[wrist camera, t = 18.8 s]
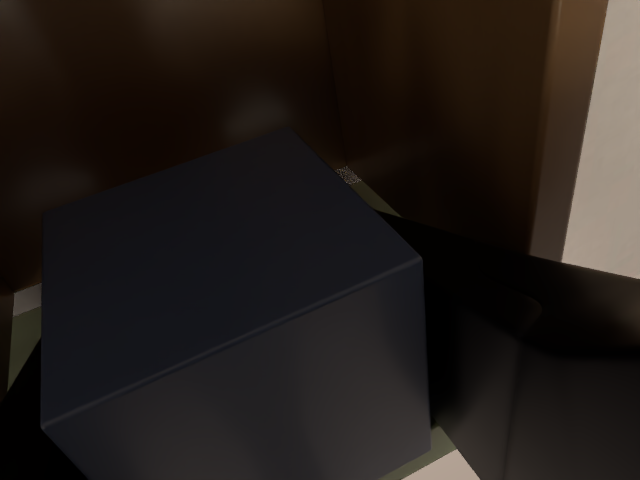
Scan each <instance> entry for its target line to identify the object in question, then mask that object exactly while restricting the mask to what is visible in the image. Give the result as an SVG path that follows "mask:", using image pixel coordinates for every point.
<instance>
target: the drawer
mask: <svg viewBox="0 0 640 480" xmlns="http://www.w3.org/2000/svg"><path fill="white" fill-rule="evenodd" d="M607 5H608V0H0V404H1V402H2V401H3V399H4V397H5V396H6V394H7V392H8V391H9V389H10V387H11V386H12V384H13V382H14V381H15V379H16V377H17V376H18V374H19V372H20V371H21V369H22V367H23V366H24V364H25V362H26V361H27V359H28V357H29V356H30V354H31V352H32V351H33V349H34V347H35V346H36V344H37V342H38V341H39V339H40V338H41V307H38V308H36V309H33V310H30V311H28V312H25V313H23V314H20V315H18V316H15V317H13V307H14V293H16V292H18V291H21V290H24V289H26V288H29V287H31V286H34V285H37V284H39V283H42V214H43V213H44V212H46V211H48V210H51V209H54V208H57V207H60V206H63V205H65V204H68V203H71V202H74V201H77V200H80V199H83V198H85V197H88V196H91V195H94V194H97V193H100V192H102V191H105V190H108V189H111V188H114V187H117V186H120V185H122V184H125V183H128V182H131V181H134V180H137V179H139V178H142V177H145V176H148V175H151V174H154V173H156V172H159V171H162V170H165V169H168V168H171V167H174V166H176V165H179V164H182V163H185V162H188V161H191V160H193V159H196V158H199V157H202V156H205V155H208V154H211V153H213V152H216V151H219V150H222V149H225V148H228V147H230V146H233V145H236V144H239V143H242V142H245V141H247V140H250V139H253V138H256V137H259V136H262V135H265V134H267V133H270V132H273V131H276V130H279V129H282V128H284V127H290V128H291V129H293V130H294V131H295V132H296V133H297V134H298V135H299V136H300V137H301V138H302V139H303V140H304V141H305V142H306V143H307V144H308V145H309V146H310V147H311V148H312V149H313V150H314V151H315V152H316V153H317V154H318V155H319V156H320V157H321V158H322V159H323V160H324V161H325V162H326V163H327V164H328V165H329V166H330V167H331V168H332V169H333V170H334V171H335V170H338V169H340V168H343V167H346V166H348V168H349V169H350V170H351V171H352V172H354V173H355V174H356V175H357V176H358V177H359V178H360V179H361V180H362V181H359V182H357V183H354V184H352V185H349V186H350V187H351V188H352V189H353V190H354V191H355V192H356V193H357V194H358V195H359V196H360V197H361V198H362V199H363V200H364V201H365V202H366V203H367V204H368V205H370V206H371V207H372V208H373V209H375V210H378V211H382V212H385V213H388V214H392V215H395V216H398V217H402V218H405V219H408V220H412V221H415V222H418V223H422V224H425V225H428V226H432V227H435V228H438V229H441V230H445V231H448V232H451V233H455V234H458V235H461V236H465V237H468V238H471V239H474V240H475V242H477V241H482V242H485V243H488V244H492V245H495V246H498V247H502V248H506V249H509V250H513V251H516V252H520V253H524V254H527V255H532V256H536V257H540V258H544V259H549V260H553V261H557V262H561V261H562V256H563V250H564V245H565V239H566V234H567V228H568V222H569V217H570V211H571V206H572V200H573V195H574V189H575V183H576V178H577V172H578V167H579V161H580V156H581V150H582V145H583V139H584V133H585V128H586V122H587V117H588V111H589V106H590V100H591V94H592V89H593V83H594V78H595V72H596V67H597V61H598V56H599V50H600V44H601V39H602V33H603V28H604V22H605V17H606V11H607ZM430 415H431V414H430ZM431 435H432V449H431V450H430V451H429V452H427V453H425V454H424V455H422V456H420V457H418V458H416V459H414V460H413V461H411V462H409V463H407V464H405V465H403V466H402V467H400V468H398V469H396V470H394V471H392V472H391V473H389V474H387V475H385V476H383V477H381V478H380V479H378V480H401V479H403V478H405V477H407V476H409V475H411V474H412V473H414V472H416V471H417V470H419V469H421V468H423V467H425V466H427V465H429V464H430V463H432V462H434V461H436V460H437V459H439V458H441V457H443V456H445V455H446V454H448V453H450V452H452V451H454V450H456V449H457V448H456V447H455V445H454V444H453V443H452V441H451V440H450V439H449V438H448V436H447V435H446V434H445V432H444V431H443V430H442V428H441V427H440V426H439V424H438V423H437V422H436V420H435V419H434V418H433V416H432V415H431Z"/></svg>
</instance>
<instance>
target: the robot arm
mask: <svg viewBox="0 0 640 480" xmlns="http://www.w3.org/2000/svg"><path fill="white" fill-rule="evenodd" d="M374 210H375V209H374ZM375 211H376V212H377V213H378V214H379V215H380V216H381V217H382V218H383V219H384V220H385V221H386V222H387V223H388V224H389V225H390V226H391V227H392V228H393V229H394V230H395V231H396V232H397V233H398V234H399V235H400V236H401V237H402V238H403V239H404V240H405V241H406V242H407V243H408V244H409V245H410V246H411V247H412V248H413V249H414V250H415V251H416V252H417V253H418V254H419V255H420V256H421V257H422V260H423V275H424V295H425V315H426V335H427V355H428V375H429V395H430V414H431V415H432V416H433V418H434V419H435V420H436V422H437V423H438V424H439V426H440V427H441V428H442V430H443V431H444V432H445V434H446V435H447V436H448V438H449V439H450V440H451V441H452V443H453V444H454V445H455V447H456V448H457V449H458V451H459V452H460V453H461V454H462V456H463V457H464V459H465V460H466V461H467V463H468V464H469V465H470V467H471V468H472V469H473V470H474V471H475V473H476V474H477V476H478V477H479V478H480V480H640V279H636V278H631V277H627V276H622V275H617V274H613V273H608V272H603V271H599V270H594V269H590V268H585V267H580V266H576V265H571V264H566V263H562V262H557V261H553V260H549V259H544V258H540V257H536V256H532V255H527V254H524V253H520V252H516V251H513V250H509V249H506V248H502V247H498V246H495V245H492V244H488V243H485V242H482V241H477V242H475V240H474V239H471V238H468V237H465V236H461V235H458V234H455V233H451V232H448V231H445V230H441V229H438V228H435V227H432V226H428V225H425V224H422V223H418V222H415V221H412V220H408V219H405V218H402V217H398V216H395V215H392V214H388V213H385V212H382V211H378V210H375ZM40 412H41V338H40V339H39V341H38V342H37V344H36V346H35V347H34V349H33V351H32V352H31V354H30V356H29V357H28V359H27V361H26V362H25V364H24V366H23V367H22V369H21V371H20V372H19V374H18V376H17V377H16V379H15V381H14V382H13V384H12V386H11V387H10V389H9V391H8V392H7V394H6V396H5V397H4V399H3V401H2V402H1V404H0V480H88V479H87V478H86V476H85V475H84V474H83V473H82V472H81V471H80V470H79V469H78V468H77V467H76V466H75V465H74V464H73V462H72V461H71V460H70V459H69V458H68V457H67V456H66V455H65V454H64V453H63V452H62V451H61V449H60V448H59V447H58V446H57V445H56V444H55V443H54V442H53V441H52V440H51V439H50V438H49V437H48V435H47V434H46V433H45V432H44V431H43V430H42V428H41V425H40Z"/></svg>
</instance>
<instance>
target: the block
mask: <svg viewBox="0 0 640 480" xmlns="http://www.w3.org/2000/svg"><path fill="white" fill-rule="evenodd" d="M40 425H41V428H42V430H43V431H44V432H45V433H46V434H47V435H48V437H49V438H50V439H51V440H52V441H53V442H54V443H55V444H56V445H57V446H58V447H59V448H60V449H61V451H62V452H63V453H64V454H65V455H66V456H67V457H68V458H69V459H70V460H71V461H72V462H73V464H74V465H75V466H76V467H77V468H78V469H79V470H80V471H81V472H82V473H83V474H84V475H85V476H86V478H87V479H88V480H378V479H380V478H381V477H383V476H385V475H387V474H389V473H391V472H392V471H394V470H396V469H398V468H400V467H402V466H403V465H405V464H407V463H409V462H411V461H413V460H414V459H416V458H418V457H420V456H422V455H424V454H425V453H427V452H429V451H430V450H431V449H432V435H431V415H430V395H429V375H428V355H427V335H426V315H425V295H424V275H423V260H422V257H421V256H420V255H419V254H418V253H417V252H416V251H415V250H414V249H413V248H412V247H411V246H410V245H409V244H408V243H407V242H406V241H405V240H404V239H403V238H402V237H401V236H400V235H399V234H398V233H397V232H396V231H395V230H394V229H393V228H392V227H391V226H390V225H389V224H388V223H387V222H386V221H385V220H384V219H383V218H382V217H381V216H380V215H379V214H378V213H377V212H376V211H375V210H374V209H373V208H372V207H371V206H370V205H368V204H367V203H366V202H365V201H364V200H363V199H362V198H361V197H360V196H359V195H358V194H357V193H356V192H355V191H354V190H353V189H352V188H351V187H350V186H349V185H348V184H347V183H346V182H345V181H344V180H343V179H342V178H341V177H340V176H339V175H338V174H337V173H336V172H335V171H334V170H333V169H332V168H331V167H330V166H329V165H328V164H327V163H326V162H325V161H324V160H323V159H322V158H321V157H320V156H319V155H318V154H317V153H316V152H315V151H314V150H313V149H312V148H311V147H310V146H309V145H308V144H307V143H306V142H305V141H304V140H303V139H302V138H301V137H300V136H299V135H298V134H297V133H296V132H295V131H294V130H293V129H291V128H290V127H284V128H282V129H279V130H276V131H273V132H270V133H267V134H265V135H262V136H259V137H256V138H253V139H250V140H247V141H245V142H242V143H239V144H236V145H233V146H230V147H228V148H225V149H222V150H219V151H216V152H213V153H211V154H208V155H205V156H202V157H199V158H196V159H193V160H191V161H188V162H185V163H182V164H179V165H176V166H174V167H171V168H168V169H165V170H162V171H159V172H156V173H154V174H151V175H148V176H145V177H142V178H139V179H137V180H134V181H131V182H128V183H125V184H122V185H120V186H117V187H114V188H111V189H108V190H105V191H102V192H100V193H97V194H94V195H91V196H88V197H85V198H83V199H80V200H77V201H74V202H71V203H68V204H65V205H63V206H60V207H57V208H54V209H51V210H48V211H46V212H44V213H43V214H42V303H41V412H40Z"/></svg>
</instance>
